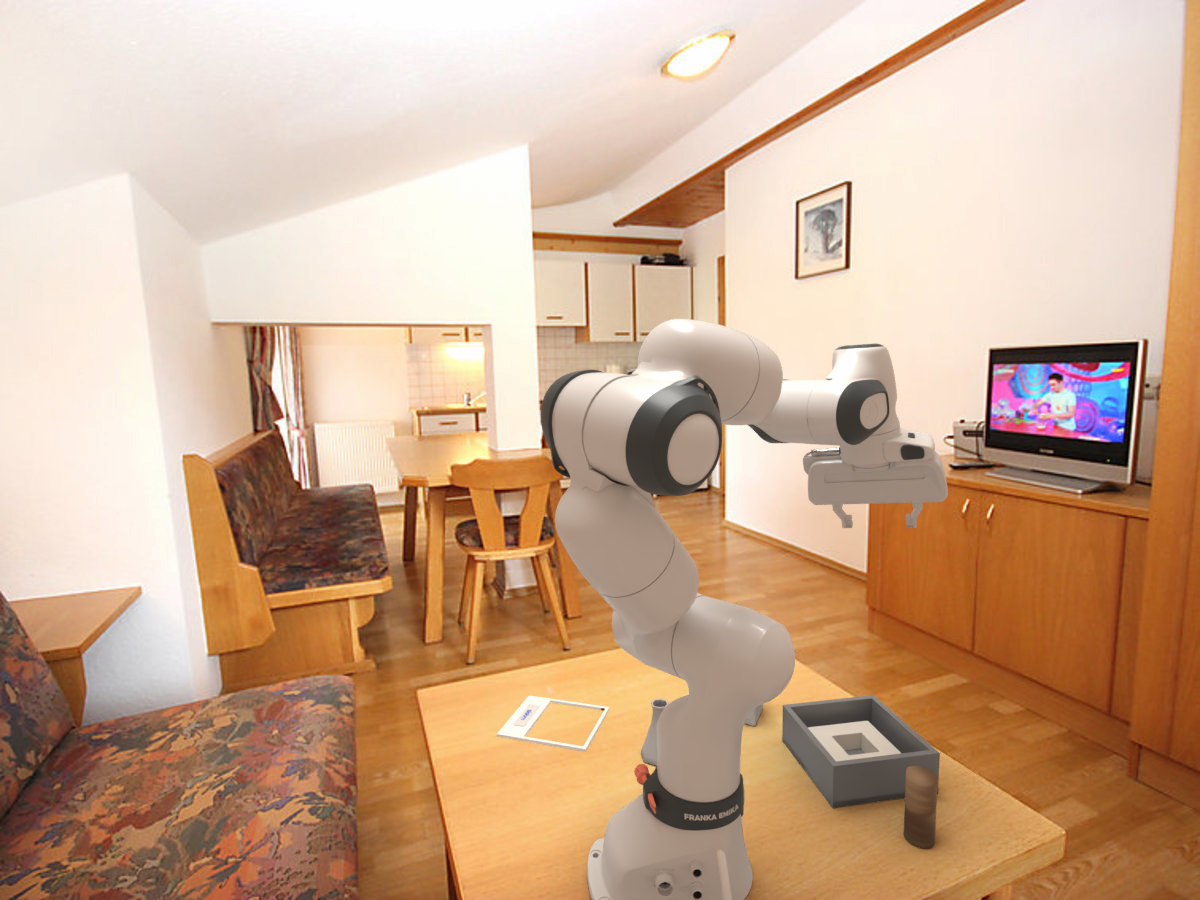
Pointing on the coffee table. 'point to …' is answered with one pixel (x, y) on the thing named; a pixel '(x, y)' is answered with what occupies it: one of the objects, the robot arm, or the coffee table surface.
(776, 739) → the coffee table surface
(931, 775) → the peg
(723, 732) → the robot arm
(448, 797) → the coffee table surface
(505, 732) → the photo frame
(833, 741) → the bin
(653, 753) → the flask
